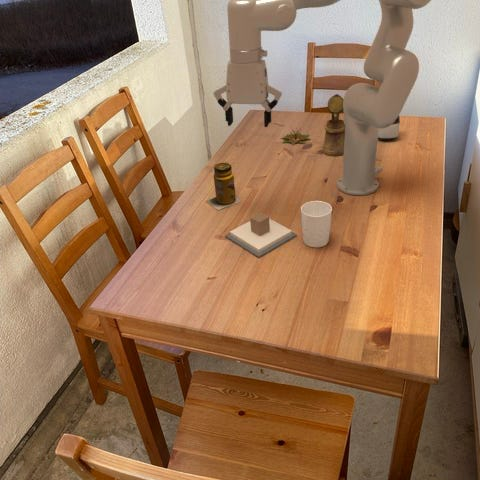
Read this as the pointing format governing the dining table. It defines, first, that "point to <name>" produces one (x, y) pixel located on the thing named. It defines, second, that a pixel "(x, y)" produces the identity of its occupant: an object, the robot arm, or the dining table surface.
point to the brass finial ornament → (334, 129)
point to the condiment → (223, 187)
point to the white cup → (316, 223)
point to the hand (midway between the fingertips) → (248, 124)
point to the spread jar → (389, 131)
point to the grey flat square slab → (265, 249)
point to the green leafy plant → (299, 136)
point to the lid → (260, 232)
